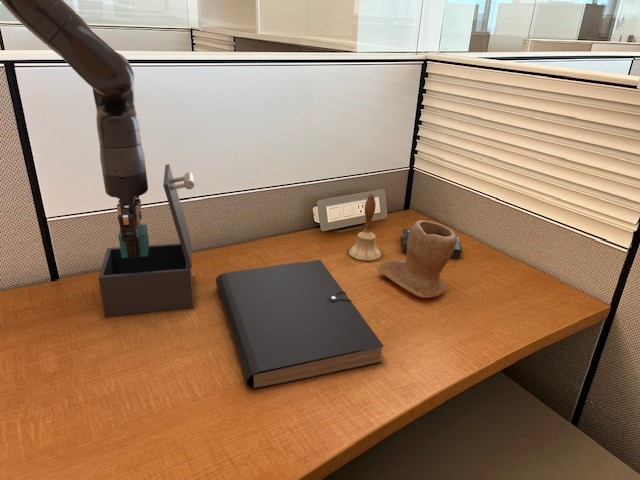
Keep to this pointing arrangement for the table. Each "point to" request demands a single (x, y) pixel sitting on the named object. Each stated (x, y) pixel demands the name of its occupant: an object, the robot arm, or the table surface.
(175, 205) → the bin lid
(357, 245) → the hand bell
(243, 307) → the dark grey notebook
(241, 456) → the table surface
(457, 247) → the disk drive
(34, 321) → the table surface
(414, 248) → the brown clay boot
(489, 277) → the table surface
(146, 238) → the block
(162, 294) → the bin
